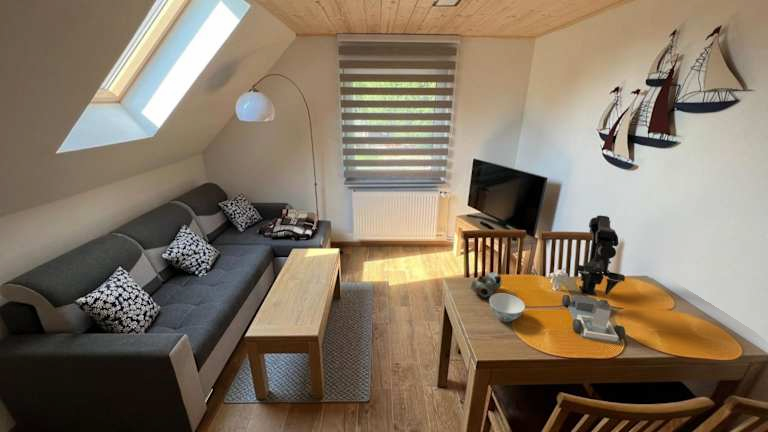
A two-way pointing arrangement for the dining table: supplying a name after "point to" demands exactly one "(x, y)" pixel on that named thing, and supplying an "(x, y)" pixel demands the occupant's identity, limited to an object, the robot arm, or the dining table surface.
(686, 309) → the dining table surface
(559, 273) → the hat wearing toy figure
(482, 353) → the dining table surface
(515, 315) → the chinaware
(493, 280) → the grey lumpy piece
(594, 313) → the grey plastic box
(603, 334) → the chassis
